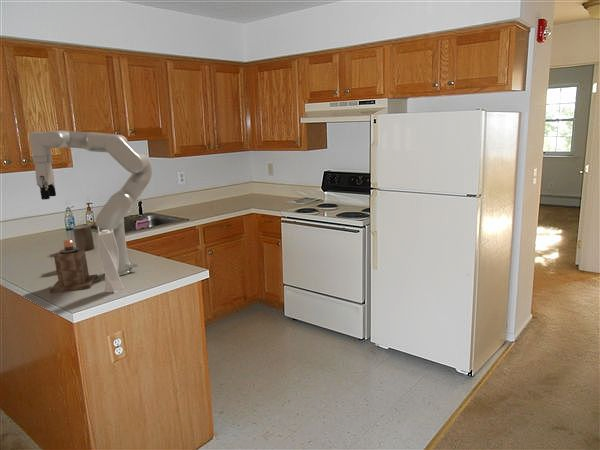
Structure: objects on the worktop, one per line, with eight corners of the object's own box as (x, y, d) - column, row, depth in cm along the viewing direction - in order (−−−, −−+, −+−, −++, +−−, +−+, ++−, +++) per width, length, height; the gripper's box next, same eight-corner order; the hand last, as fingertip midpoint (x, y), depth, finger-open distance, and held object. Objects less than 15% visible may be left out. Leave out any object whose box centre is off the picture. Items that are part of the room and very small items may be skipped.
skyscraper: (100, 292, 194) (90, 228, 188) (112, 286, 201) (103, 224, 195) (114, 294, 192) (105, 229, 185) (127, 287, 198) (118, 224, 192)
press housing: (97, 277, 215) (92, 245, 211) (90, 288, 200) (84, 254, 197) (60, 281, 212) (55, 249, 208) (50, 292, 197) (44, 258, 194)
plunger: (84, 276, 210) (78, 238, 206) (80, 281, 203) (74, 241, 199) (68, 278, 208) (61, 239, 204) (63, 283, 202) (56, 243, 198)
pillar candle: (97, 248, 269) (93, 223, 266) (81, 252, 261) (77, 226, 258) (88, 246, 275) (84, 222, 272) (72, 250, 267) (68, 225, 264)
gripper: (39, 159, 213) (45, 195, 216) (27, 161, 196) (33, 201, 200) (57, 158, 214) (63, 194, 218) (46, 160, 198) (52, 199, 202)
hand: (49, 197), depth 209 cm, fingers open, 9 cm apart
